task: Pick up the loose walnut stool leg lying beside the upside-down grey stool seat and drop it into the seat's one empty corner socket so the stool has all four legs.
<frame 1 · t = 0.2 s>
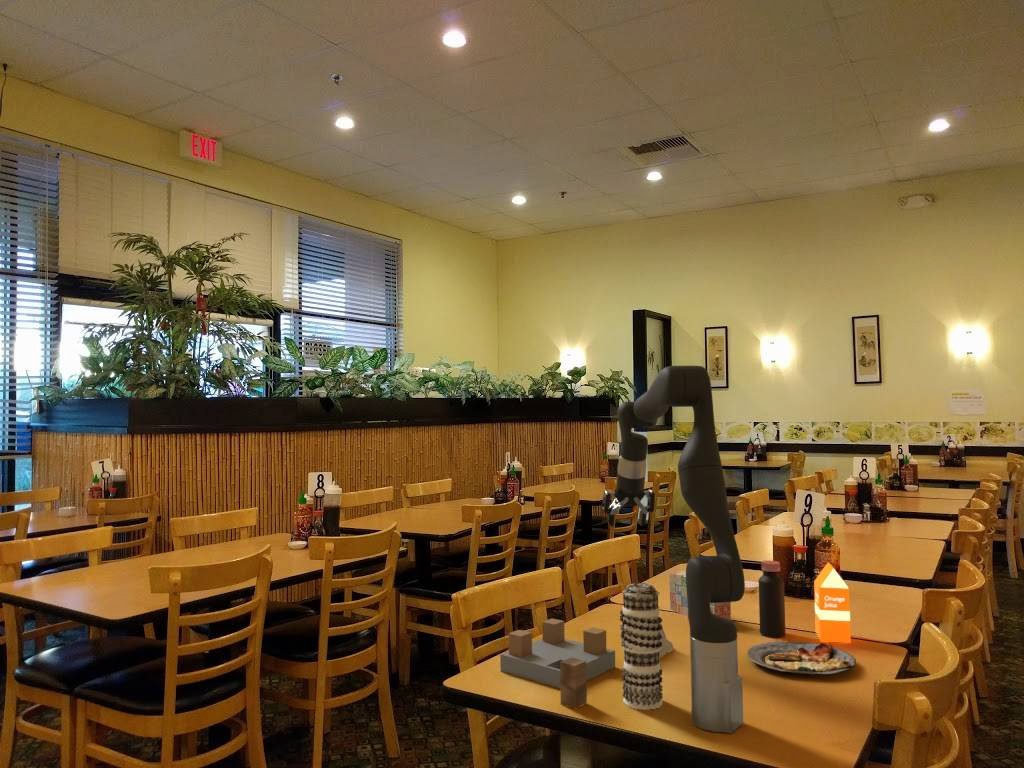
hand: (626, 525, 207), 31 cm above the table, tool tilted 20°, fingers open, 8 cm apart
printed cardboard box: (699, 618, 227), on the table
decorative candle: (642, 703, 161), on the table
food plate: (801, 665, 185), on the table
stool leg: (573, 703, 161), on the table
hinge: (646, 656, 193), on the table
stool seat: (558, 668, 183), on the table
orange juice: (832, 638, 205), on the table
bottle: (772, 635, 209), on the table
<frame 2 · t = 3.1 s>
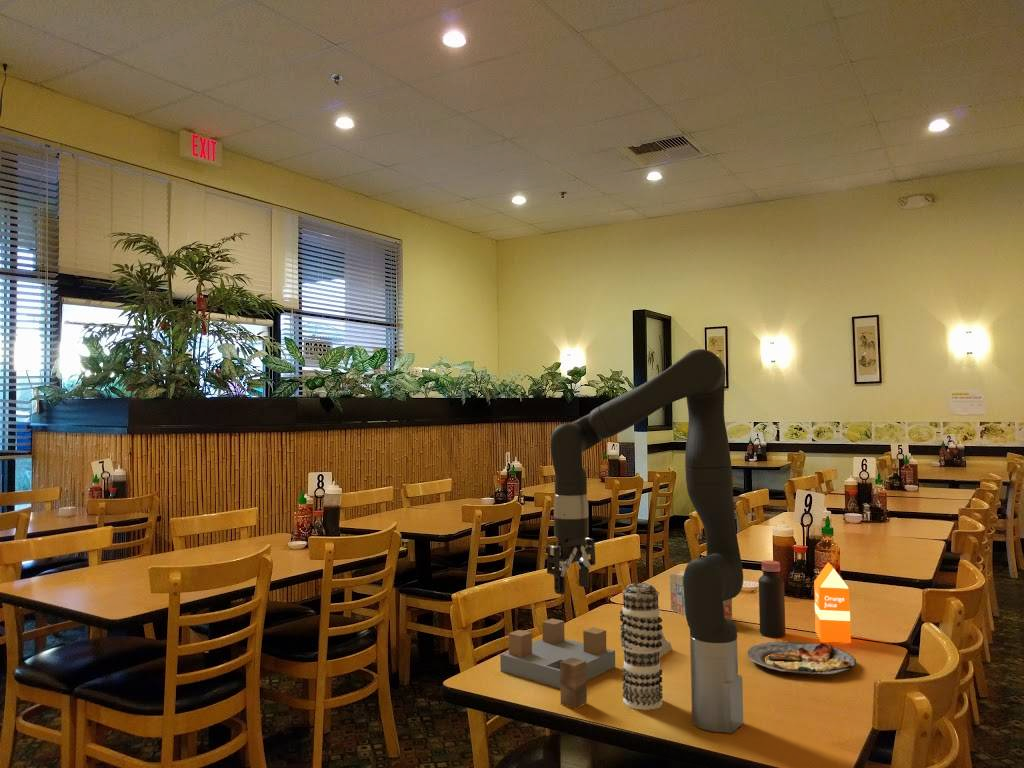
hand: (572, 589, 162), 24 cm above the table, tool pointing down, fingers open, 8 cm apart
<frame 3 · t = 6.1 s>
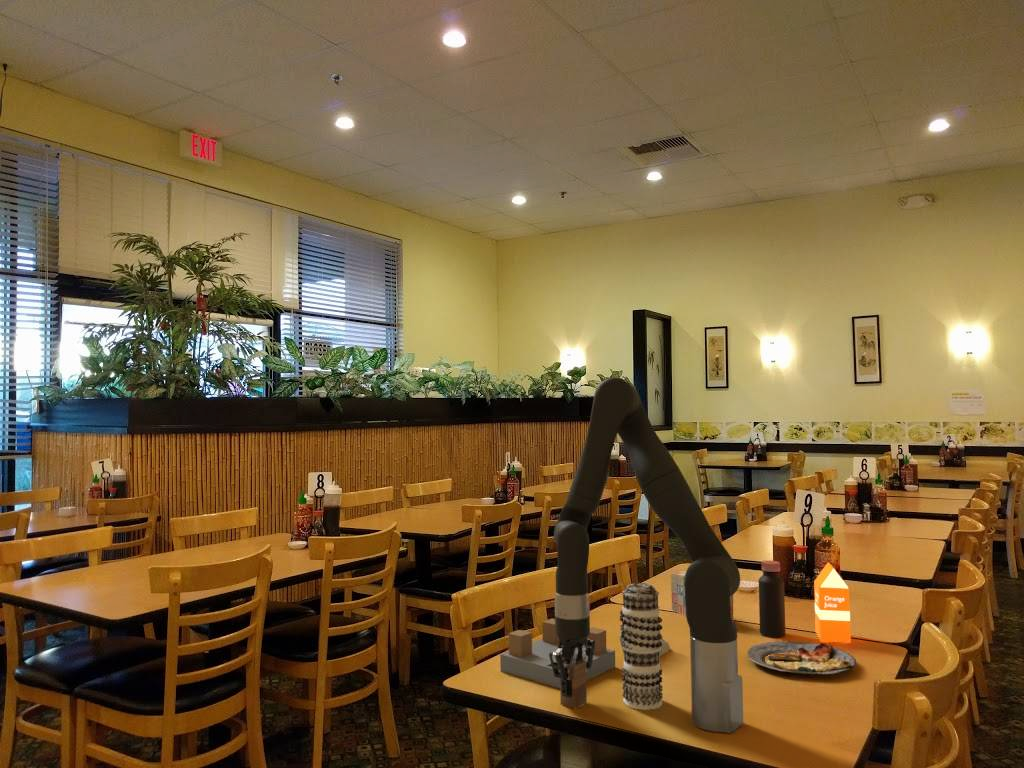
hand: (573, 693, 161), 2 cm above the table, tool pointing down, fingers closed on stool leg, 4 cm apart
stool leg: (573, 703, 161), on the table, touching gripper
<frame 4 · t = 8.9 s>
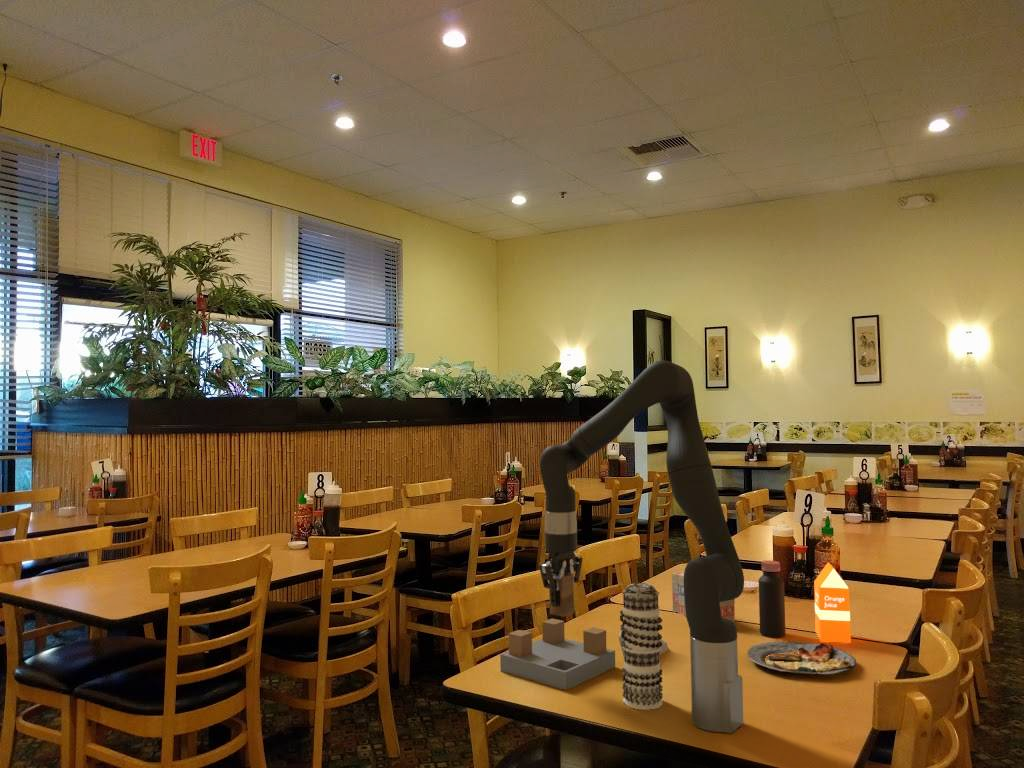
hand: (561, 603, 175), 18 cm above the table, tool pointing down, fingers closed on stool leg, 4 cm apart
stool leg: (561, 613, 175), point 16 cm above the table, touching gripper
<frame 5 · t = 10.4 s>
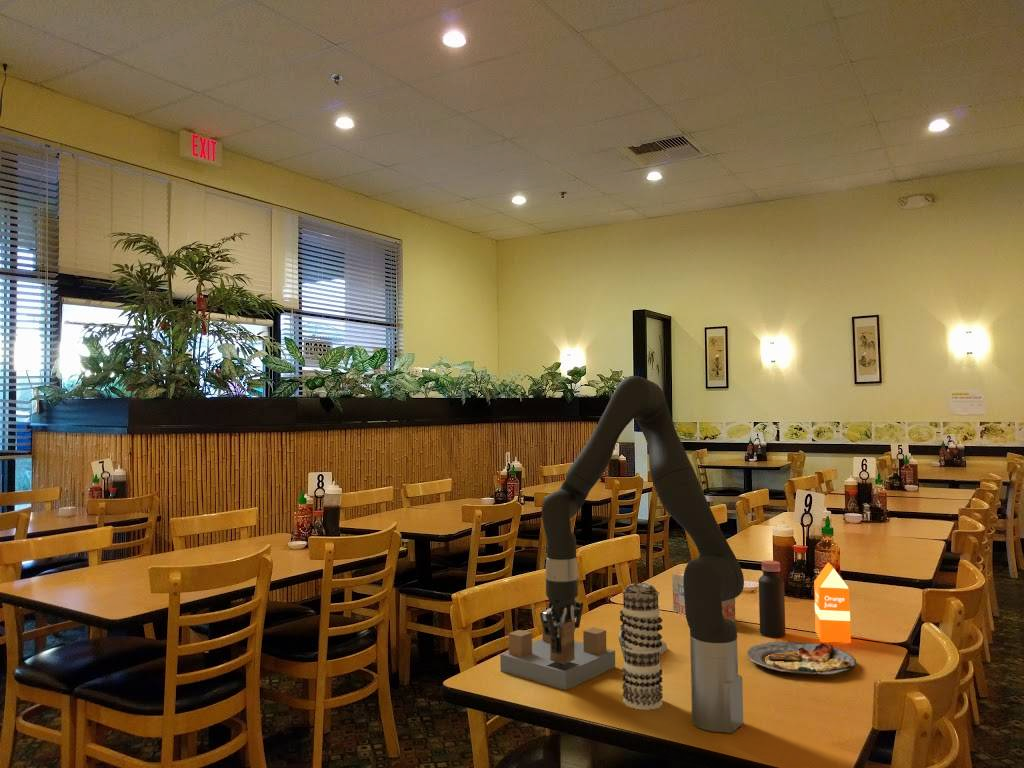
hand: (562, 650, 174), 7 cm above the table, tool pointing down, fingers closed on stool leg, 4 cm apart
stool leg: (562, 659, 174), point 5 cm above the table, touching gripper
when the fingers open (5 cm above the table, at t = 11.6 s): stool leg drops 2 cm, resting in stool seat.
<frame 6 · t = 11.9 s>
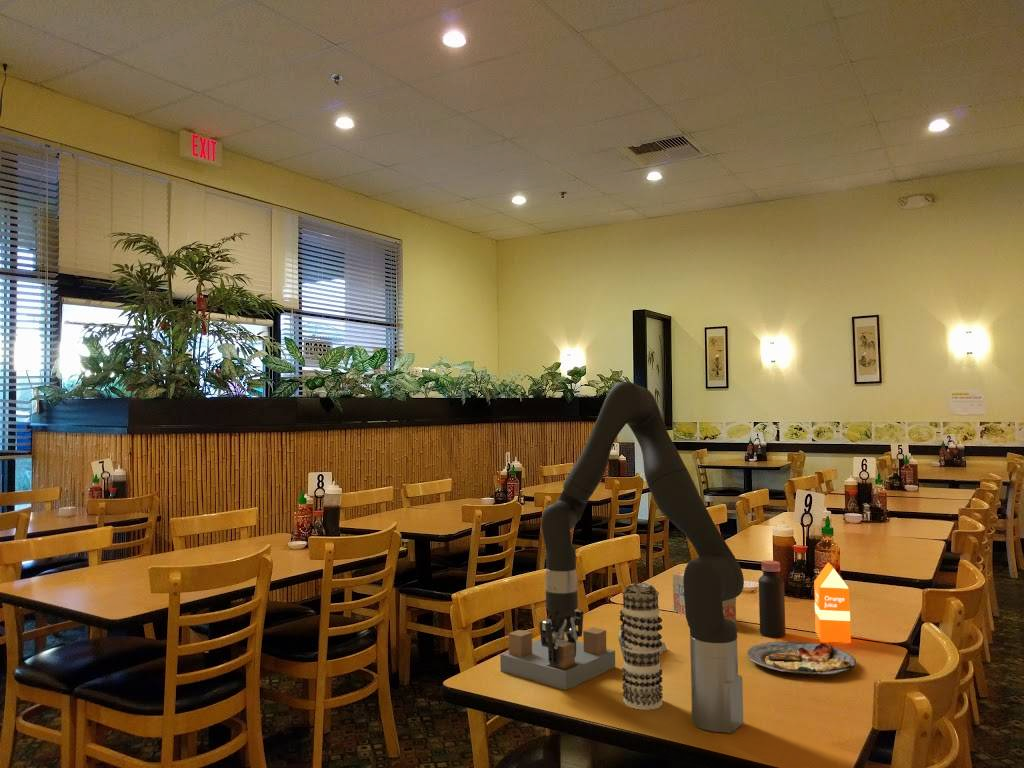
hand: (562, 660, 174), 5 cm above the table, tool pointing down, fingers open, 6 cm apart
stool leg: (562, 682, 174), resting in stool seat
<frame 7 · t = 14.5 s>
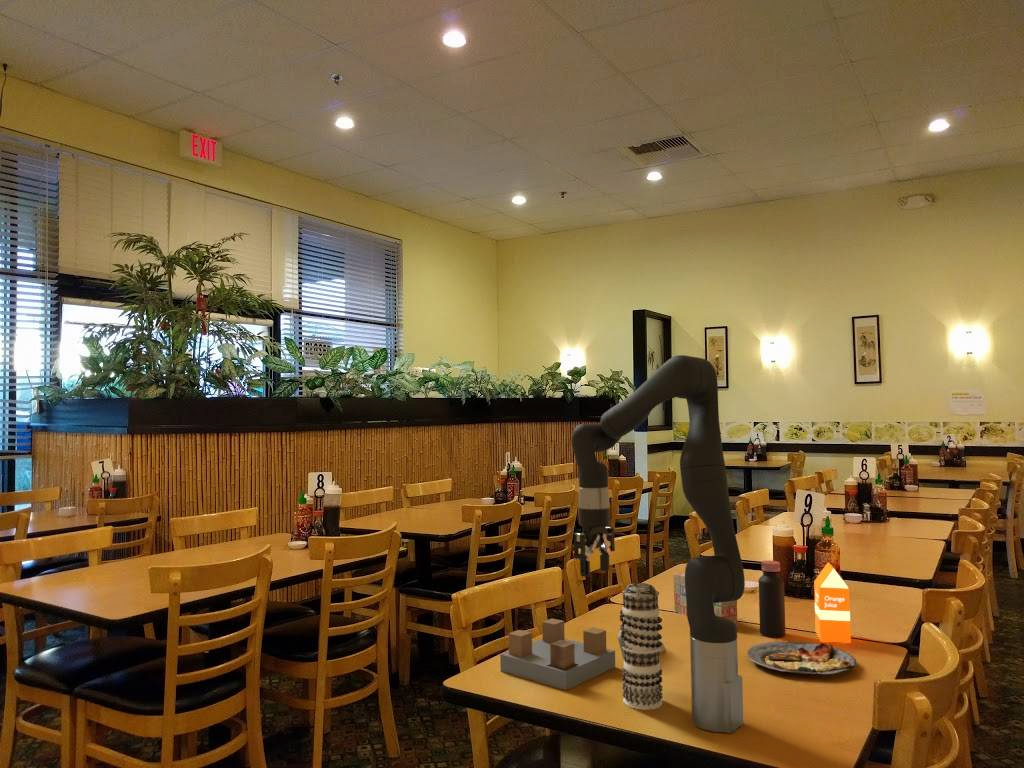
hand: (595, 573, 180), 24 cm above the table, tool pointing down, fingers open, 8 cm apart
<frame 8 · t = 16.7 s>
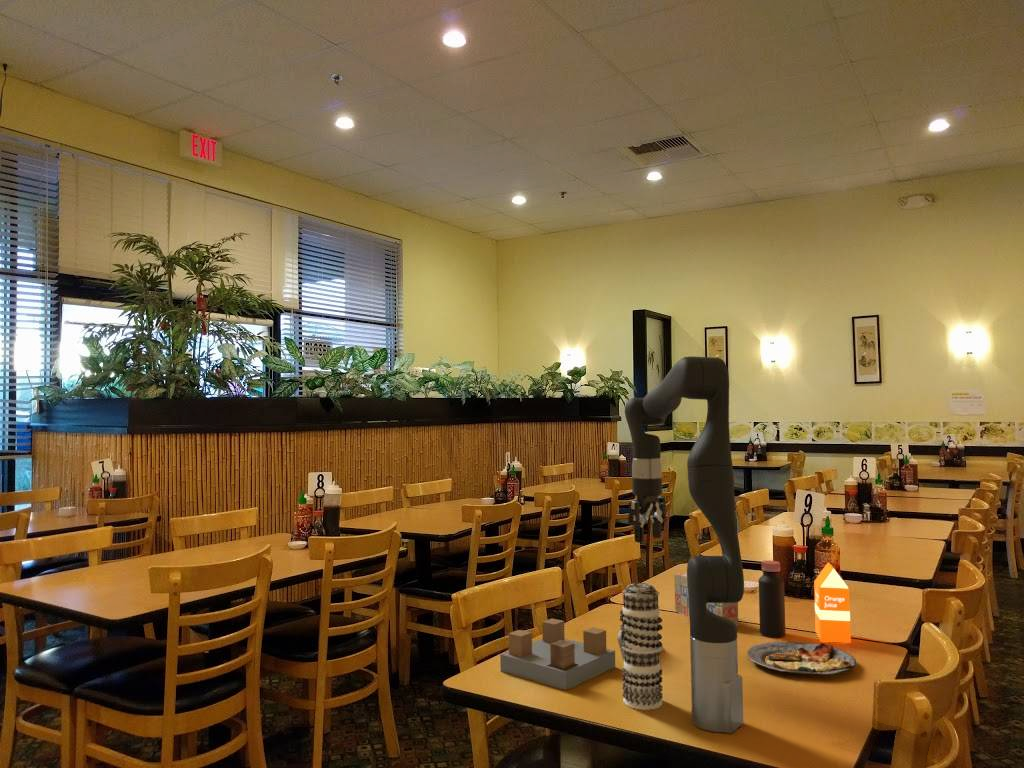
hand: (648, 539, 190), 30 cm above the table, tool pointing down, fingers open, 8 cm apart
at the end: stool leg 0.0 cm from the target spot on the stool seat, point 0.0 cm above the stool seat's base; stool leg tilted 0°; the gripper is holding nothing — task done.
